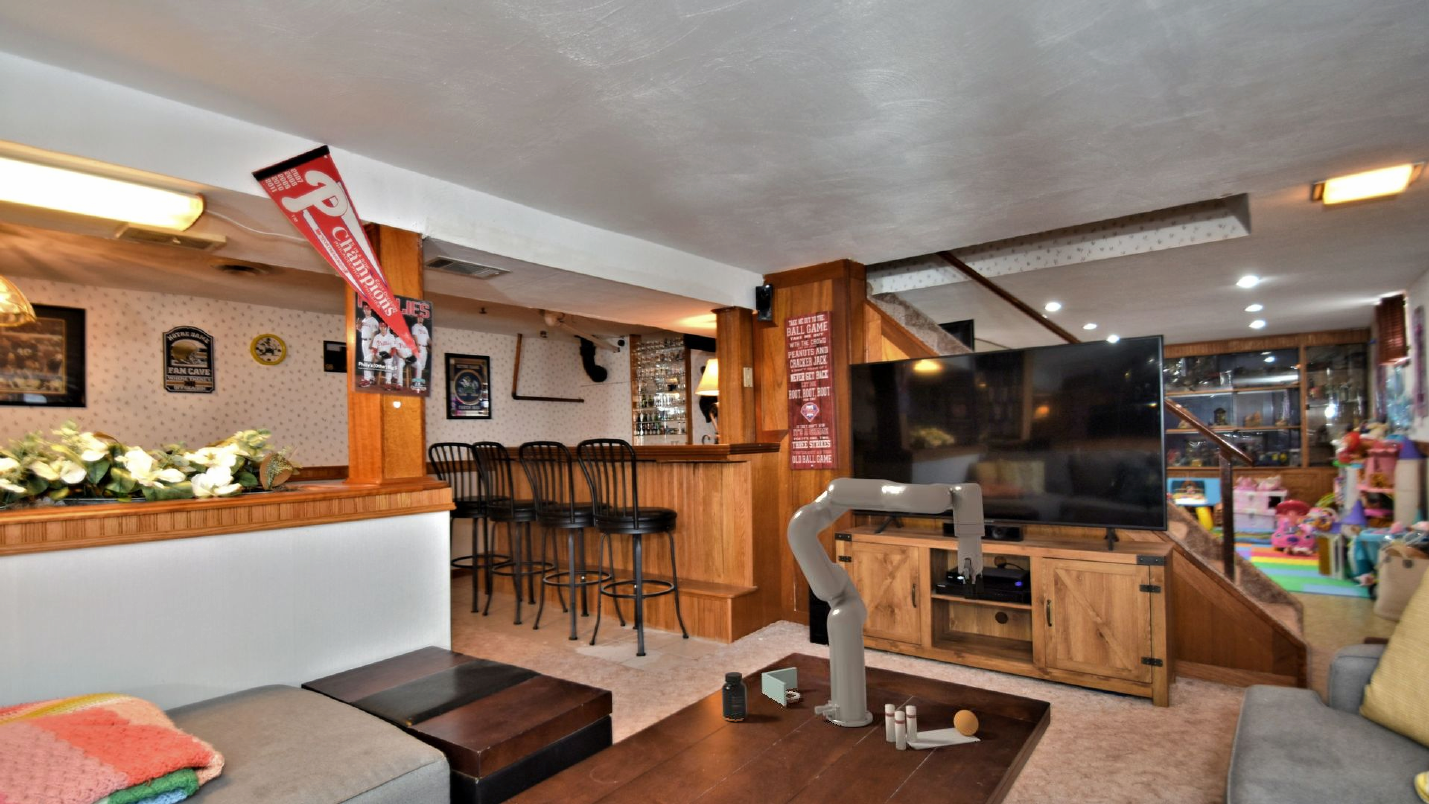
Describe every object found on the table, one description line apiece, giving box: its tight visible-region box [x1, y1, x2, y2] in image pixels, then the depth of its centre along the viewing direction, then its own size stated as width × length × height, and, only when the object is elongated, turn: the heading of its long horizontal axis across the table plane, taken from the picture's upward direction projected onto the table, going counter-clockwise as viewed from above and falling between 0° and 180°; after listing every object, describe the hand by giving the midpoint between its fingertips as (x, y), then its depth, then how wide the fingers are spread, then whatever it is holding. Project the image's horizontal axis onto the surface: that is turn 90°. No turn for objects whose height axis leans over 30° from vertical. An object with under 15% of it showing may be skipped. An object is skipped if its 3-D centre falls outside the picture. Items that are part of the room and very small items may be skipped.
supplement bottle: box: [721, 671, 748, 720], centre depth 198 cm, size 7×7×12 cm
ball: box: [953, 709, 979, 736], centre depth 183 cm, size 6×6×6 cm
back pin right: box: [895, 710, 907, 751], centre depth 176 cm, size 2×2×8 cm
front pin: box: [905, 705, 918, 743], centre depth 179 cm, size 2×2×8 cm
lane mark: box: [905, 727, 981, 750], centre depth 181 cm, size 18×9×1 cm, turn 104°
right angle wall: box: [761, 666, 802, 706], centre depth 213 cm, size 12×12×8 cm
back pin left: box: [884, 703, 896, 743], centre depth 181 cm, size 2×2×8 cm
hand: (974, 595), depth 187 cm, fingers open, 9 cm apart
